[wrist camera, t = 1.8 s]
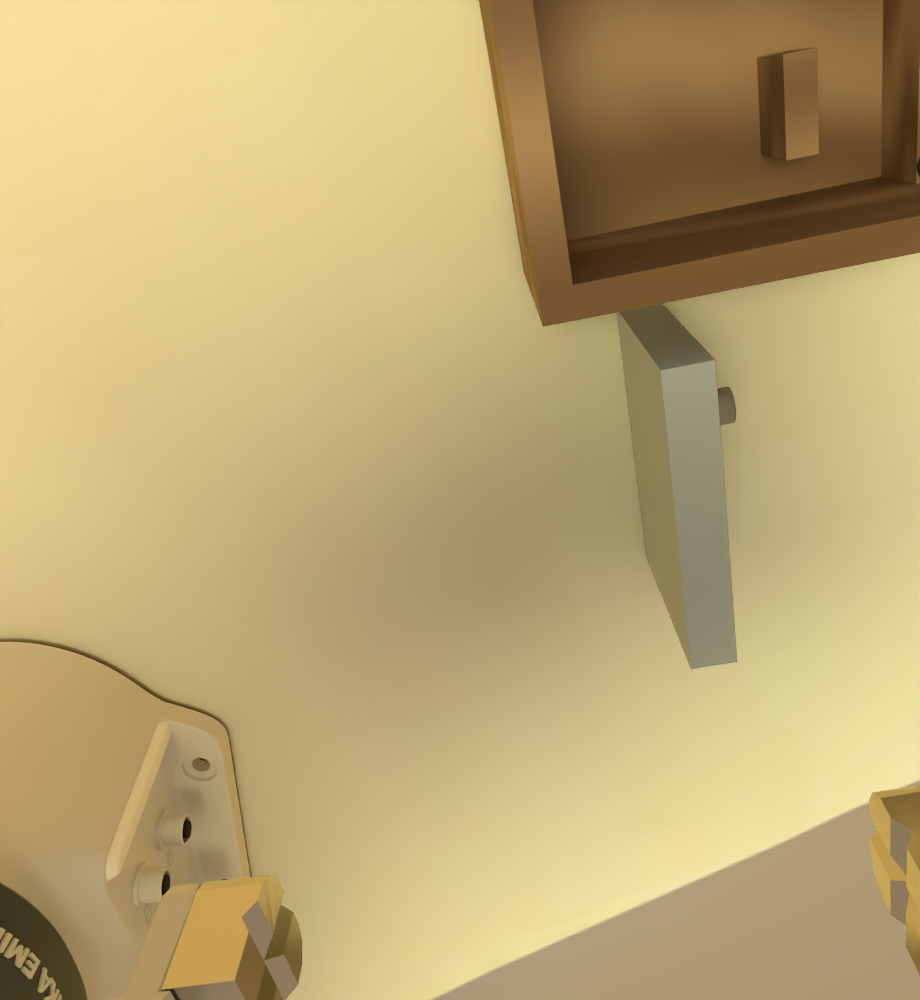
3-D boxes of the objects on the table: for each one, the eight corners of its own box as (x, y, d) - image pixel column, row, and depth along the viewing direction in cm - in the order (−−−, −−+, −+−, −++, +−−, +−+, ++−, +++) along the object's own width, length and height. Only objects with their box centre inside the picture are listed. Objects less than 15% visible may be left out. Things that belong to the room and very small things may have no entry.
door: (706, 545, 37) (766, 657, 30) (646, 556, 37) (690, 669, 30) (684, 294, 32) (749, 353, 25) (616, 308, 32) (660, 370, 25)
